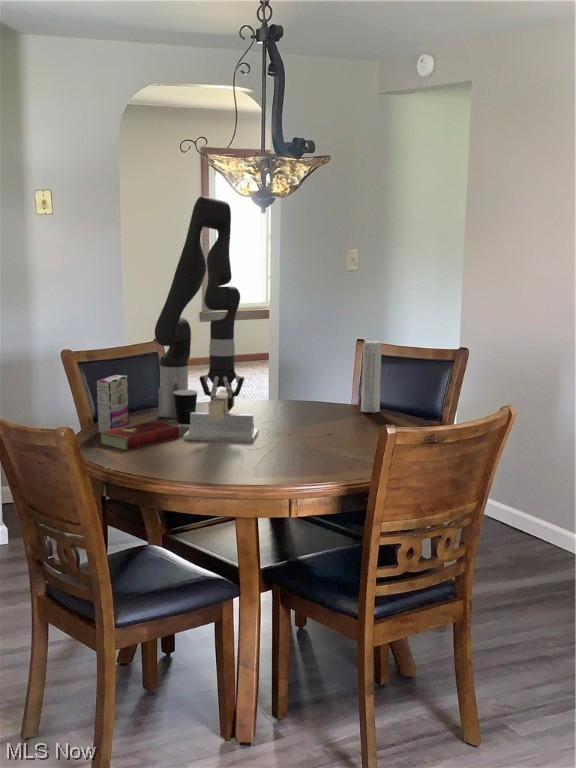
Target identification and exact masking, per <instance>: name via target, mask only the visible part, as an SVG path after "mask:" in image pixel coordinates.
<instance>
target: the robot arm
mask: <svg viewBox="0 0 576 768" xmlns="http://www.w3.org/2000/svg"><path fill="white" fill-rule="evenodd" d="M231 222H232V212H231V206H230V204H229V203H228V202H226V201H225V200H220V199H217V198H213V197H209V196H205V195H202V196H199V197H197V200H196V201H195V202H194V205H193V209H192V213H191V217H190V221H189V225H188V230H187V234H186V239H185V241H184V245H183V249H182V251H181V254H180V256H179V260H178V263H177V266H176V268H175V272H174V276H173V279H172V281H171V282H172V283H171V286H170V289H169V291H168V294H167V297H166V300H165V303H164V304H163V307H162V309H161V312H160V315H159V316H158V319H157V321H156V324H155V327H154V339H155V341H156V342H157V344H158V345H160V346H162V347H168V350H167V351H166V352H165V353H164V354H163V355H162V356H160V359H159V378H160V380H159V383H160V384H159V386H160V387H159V388H158V417H159V418H160V417H162V418H165V419H166V418H168V419H177V416H176V407H175V398H174V394H173V392H174V391H177V390H189V384H188V383H189V381H188V380H189V369H188V368H189V367H188V365H189V359H190V357H191V356H190V355H191V343H192V341H191V340H192V330H191V326H190V323H189V321H188V320H187V319H186V318H184V317H181V316H182V313H183V312H184V310H185V309H186V307H187V306H188V304H190V302H191V301H192V300H193V299H194V297H195V296H196V295H197V293H198V292H199V290H201V287H202V284H203V281H204V278H205V276H206V272H207V286H206V290H205V293H204V305H205V307H206V308H207V309H208V310H209V311H227V312H226V314H225V315H224V316H221V317H217V318H213V319H212V320H211V321H210V334H209V335H210V340H209V349H208V351H209V370H208V372H207V373H206V374H204V375H200V376H199V378H198V379H199V381H200V384H201V388H202V390H203V393H204V395H205V396H208V397H209V398H210V401H211V400H212V399H213V398H214V397H215V396H216V395H217V393H218V392H217V391H218V388H220V387H222V388H225V390H226V391H227V394H228V410H230V411H231V410H232V409H231V408H234V406H233V397H234V398H236V397H238V396H239V395H240V392H241V389H242V388H243V387H242V386H243V384H244V382H245V377H244V376H239V375H237V373H236V371H235V361H236V360H235V359H236V358H235V355H236V353H235V351H236V349H235V347H236V346H235V321H236V316H237V313H238V309H239V305H240V303H241V302H240V301H241V293H240V291H239V289H238V288H237V287H236V286H225V285H228V284H230V282H231V280H232V269H231V260H230V259H231V258H230V245H231V243H230V241H231V230H232V229H231V225H232V223H231ZM203 228H208V229H211V230H216V231H217V238H216V240H215V242H214V244H213V245H212V246H211V248H210V249H209V251H208V252H207V253H208V254H207V258H206V259H205V255H204V252H203V249H202V248H203V247H202V244H201V236H202V231H203ZM234 380H236V381H235V382H236V384H237V385H236V388H235V389H234V392H233V391H232V390H233V387H232V384H233V382H234ZM208 381H210V382H211V383H212V387H211V390H210V388H209V385H208Z"/></svg>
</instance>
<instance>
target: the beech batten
mask: <svg viewBox="0 0 576 768" xmlns="http://www.w3.org/2000/svg"><path fill="white" fill-rule="evenodd" d="M232 391H233V392H235V389H232ZM233 407H235V397H233ZM233 407H232V408H233ZM232 408H231V410H232ZM231 410H228V394H227V391H226V388H224V389H220V391H219V392H217V393H216V396H215V397H214V398H213V399H212V400H211V399H210V401H209V402H208V413H209V420H223V419H224V418H225V416H226V415H227V414H229V412H230V411H231Z"/></svg>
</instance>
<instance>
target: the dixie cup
mask: <svg viewBox="0 0 576 768" xmlns="http://www.w3.org/2000/svg"><path fill="white" fill-rule="evenodd" d="M173 394H174V398H175V407H176V416H177V418H176V423H177V426H179V427H180V428H189V424H190V413H191V412H196V407H197V400H198V399H197V398H198V394H199V392H198V391H197V390H193V389H188V390H177V391H174V392H173Z"/></svg>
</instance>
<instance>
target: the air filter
mask: <svg viewBox="0 0 576 768" xmlns="http://www.w3.org/2000/svg"><path fill="white" fill-rule="evenodd" d="M361 363H362V364H361V393H360V395H361V396H360V397H361V398H360V412H361V411H362V412H373V413H375V412H379V413H380V399H381V398H380V397H381V375H382V374H381V373H382V370H381V369H382V343H381V341H378V340H377V341H374V340H366V341H364V343H363V344H362V362H361ZM362 412H361V413H362Z"/></svg>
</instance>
